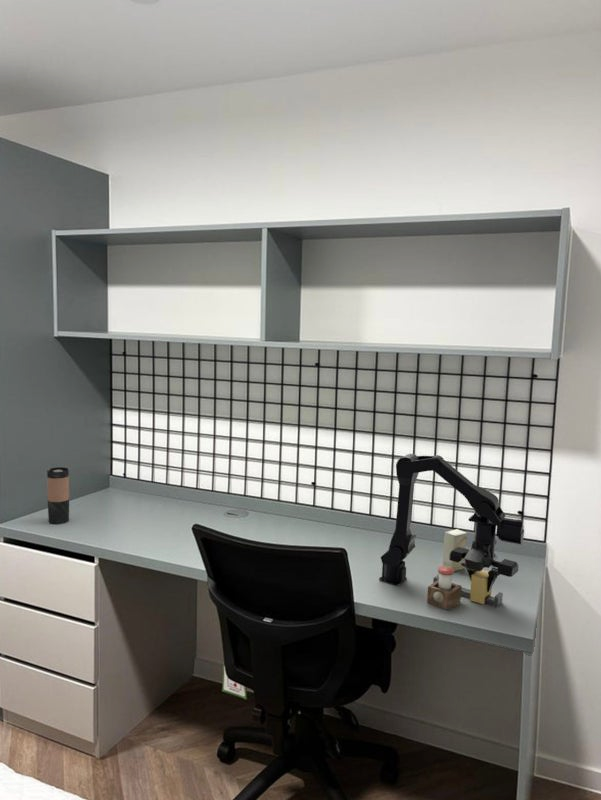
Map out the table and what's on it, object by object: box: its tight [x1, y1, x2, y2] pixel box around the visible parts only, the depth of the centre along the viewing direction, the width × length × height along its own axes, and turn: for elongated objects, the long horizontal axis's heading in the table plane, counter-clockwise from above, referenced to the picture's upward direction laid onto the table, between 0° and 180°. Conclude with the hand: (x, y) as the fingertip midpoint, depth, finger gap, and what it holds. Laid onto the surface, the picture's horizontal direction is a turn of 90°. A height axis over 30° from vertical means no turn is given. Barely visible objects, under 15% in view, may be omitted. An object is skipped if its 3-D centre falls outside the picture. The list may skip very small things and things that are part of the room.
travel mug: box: [46, 466, 70, 525], centre depth 241 cm, size 8×8×20 cm
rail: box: [432, 573, 504, 608], centre depth 189 cm, size 20×4×3 cm, turn 52°
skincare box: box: [442, 528, 468, 572], centre depth 209 cm, size 6×4×12 cm
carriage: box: [469, 569, 493, 605], centre depth 186 cm, size 4×6×8 cm, turn 142°
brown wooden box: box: [426, 579, 462, 612], centre depth 184 cm, size 7×7×5 cm
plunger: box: [437, 565, 455, 591], centre depth 183 cm, size 4×4×7 cm
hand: (481, 589), depth 186 cm, fingers closed on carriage, 4 cm apart
